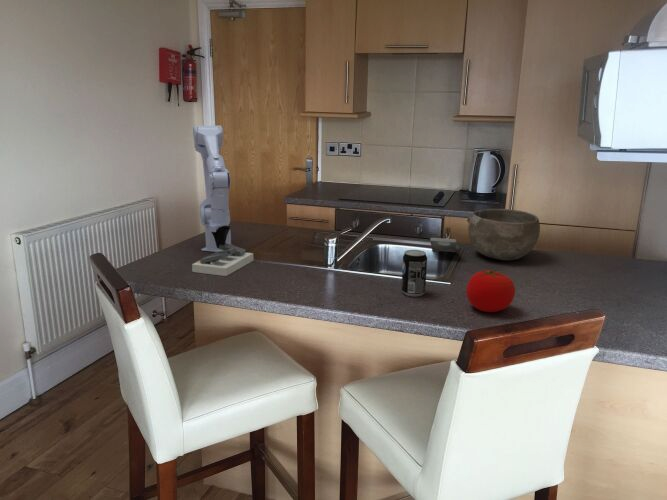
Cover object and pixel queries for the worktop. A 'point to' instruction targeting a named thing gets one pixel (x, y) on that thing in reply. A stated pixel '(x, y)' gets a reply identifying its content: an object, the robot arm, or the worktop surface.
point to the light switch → (443, 244)
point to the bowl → (503, 233)
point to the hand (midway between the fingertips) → (220, 248)
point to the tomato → (490, 291)
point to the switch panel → (223, 264)
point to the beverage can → (414, 273)
